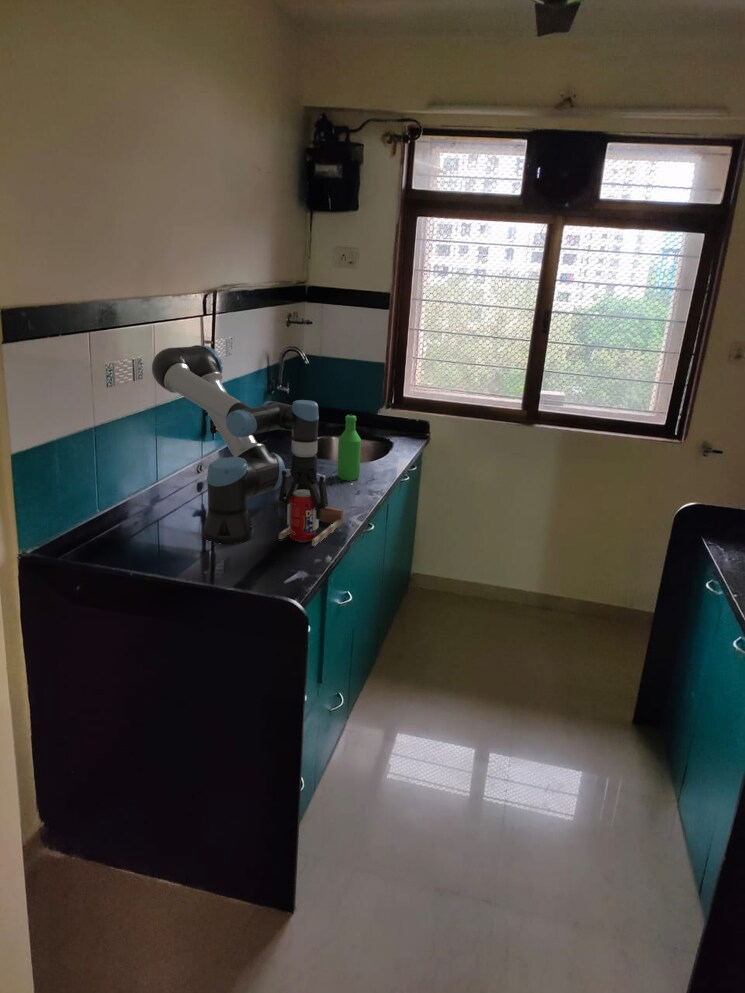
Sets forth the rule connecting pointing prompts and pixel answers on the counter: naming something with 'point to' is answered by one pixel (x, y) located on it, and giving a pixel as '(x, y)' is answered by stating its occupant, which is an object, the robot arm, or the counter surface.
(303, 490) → the soda can
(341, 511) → the guide track
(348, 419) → the bottle
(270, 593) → the counter surface
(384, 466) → the counter surface
